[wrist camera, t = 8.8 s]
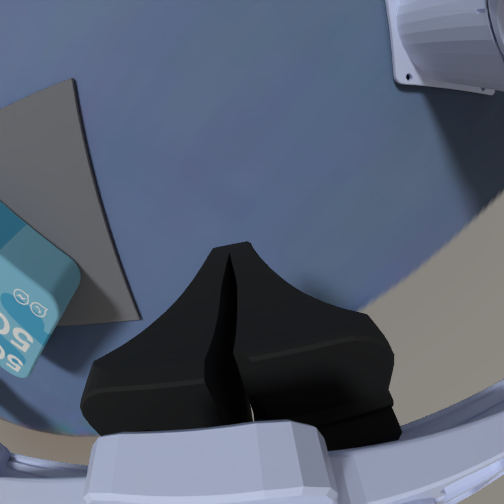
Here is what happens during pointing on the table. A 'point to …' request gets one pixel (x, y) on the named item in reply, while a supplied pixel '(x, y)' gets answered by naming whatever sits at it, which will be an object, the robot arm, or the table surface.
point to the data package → (30, 292)
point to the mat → (62, 199)
